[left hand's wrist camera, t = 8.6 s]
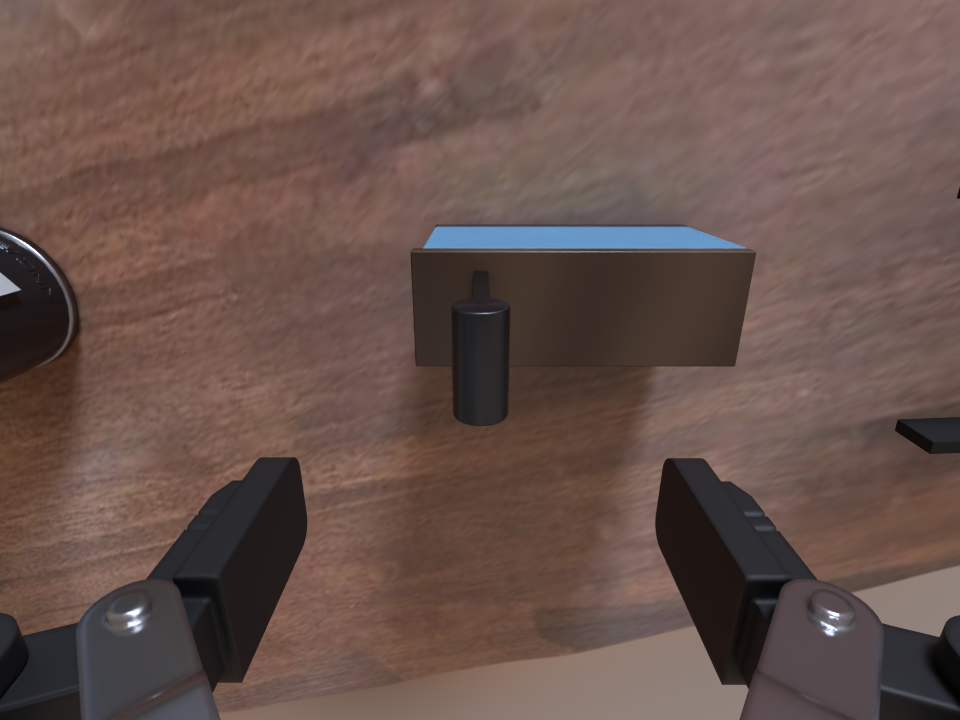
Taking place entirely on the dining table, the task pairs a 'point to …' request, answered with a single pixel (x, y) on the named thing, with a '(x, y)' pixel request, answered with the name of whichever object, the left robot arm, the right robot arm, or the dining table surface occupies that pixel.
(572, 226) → the chest
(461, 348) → the lid
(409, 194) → the dining table surface
